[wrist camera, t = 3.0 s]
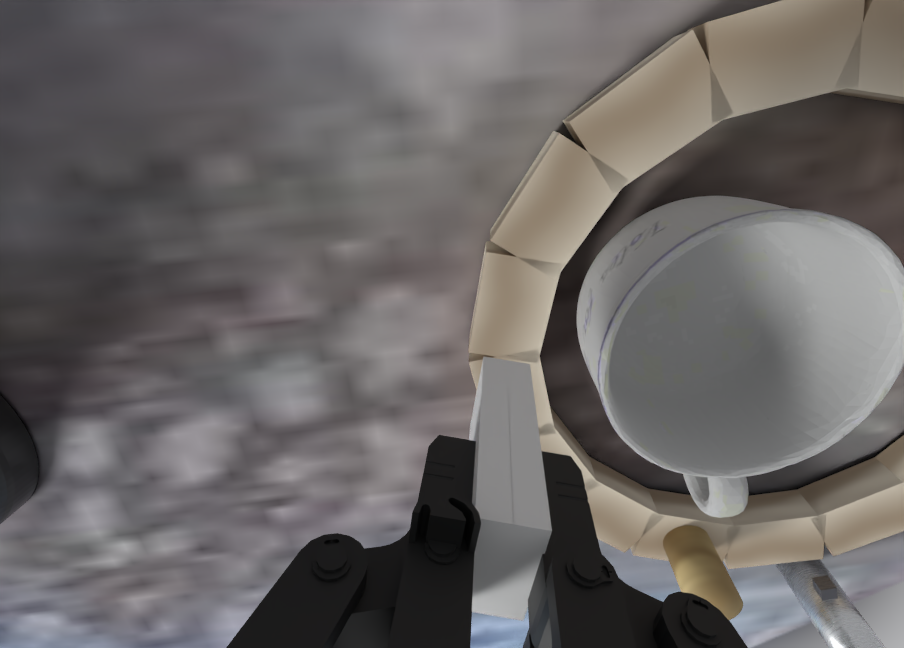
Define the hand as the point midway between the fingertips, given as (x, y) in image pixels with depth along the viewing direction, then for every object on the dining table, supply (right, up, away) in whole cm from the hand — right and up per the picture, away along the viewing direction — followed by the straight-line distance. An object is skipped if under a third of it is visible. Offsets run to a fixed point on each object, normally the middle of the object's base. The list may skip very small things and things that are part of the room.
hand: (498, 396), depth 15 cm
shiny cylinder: (+21, -12, +15) cm, 28 cm away
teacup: (+10, +3, +9) cm, 14 cm away
